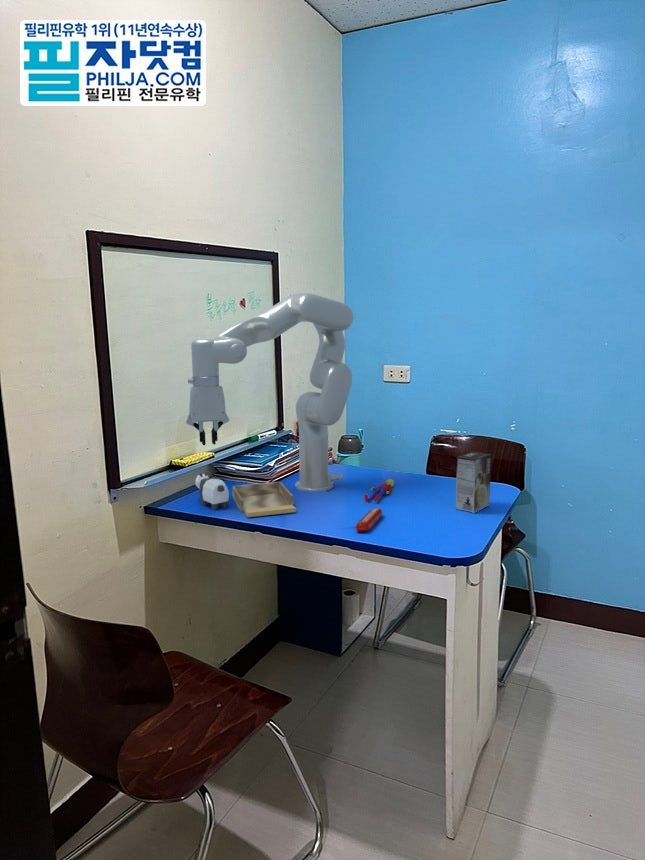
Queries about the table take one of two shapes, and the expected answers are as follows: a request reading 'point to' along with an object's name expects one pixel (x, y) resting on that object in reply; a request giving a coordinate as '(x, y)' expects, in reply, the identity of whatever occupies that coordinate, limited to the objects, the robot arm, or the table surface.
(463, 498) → the coffee box
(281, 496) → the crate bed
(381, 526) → the table surface
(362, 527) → the candy bar
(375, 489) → the character figure
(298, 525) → the table surface
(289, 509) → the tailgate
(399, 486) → the table surface
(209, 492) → the giant panda
